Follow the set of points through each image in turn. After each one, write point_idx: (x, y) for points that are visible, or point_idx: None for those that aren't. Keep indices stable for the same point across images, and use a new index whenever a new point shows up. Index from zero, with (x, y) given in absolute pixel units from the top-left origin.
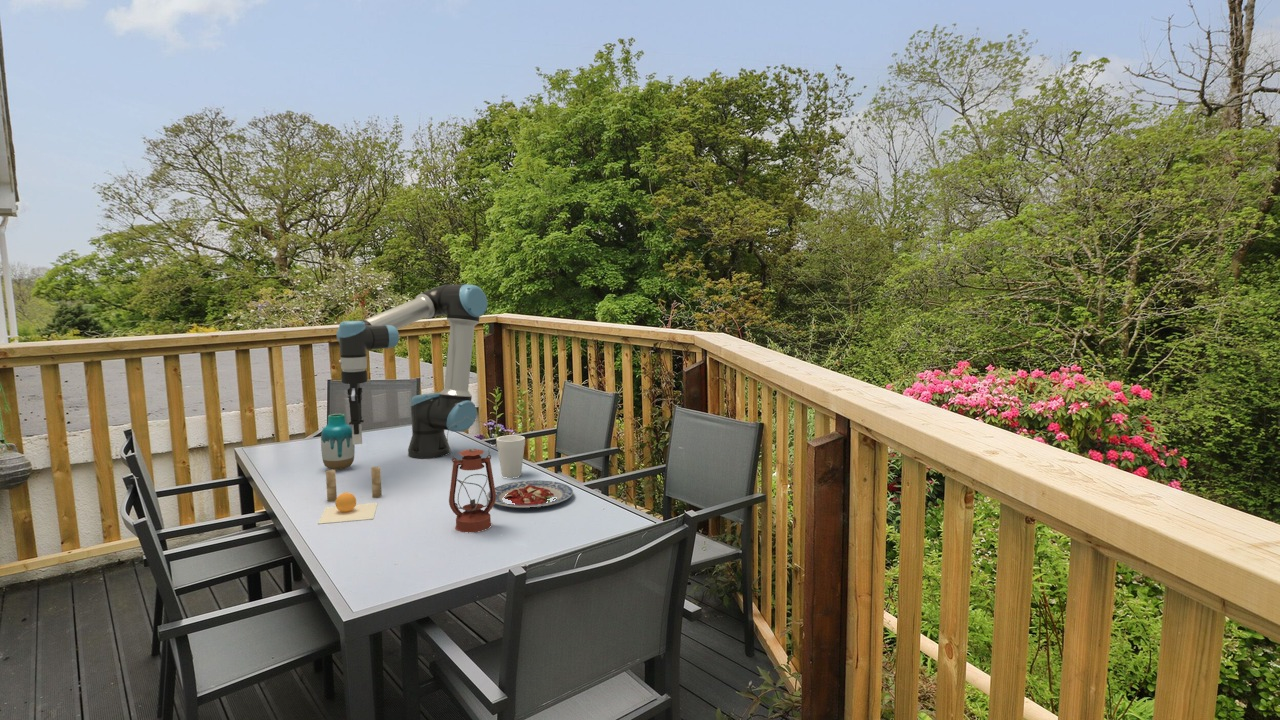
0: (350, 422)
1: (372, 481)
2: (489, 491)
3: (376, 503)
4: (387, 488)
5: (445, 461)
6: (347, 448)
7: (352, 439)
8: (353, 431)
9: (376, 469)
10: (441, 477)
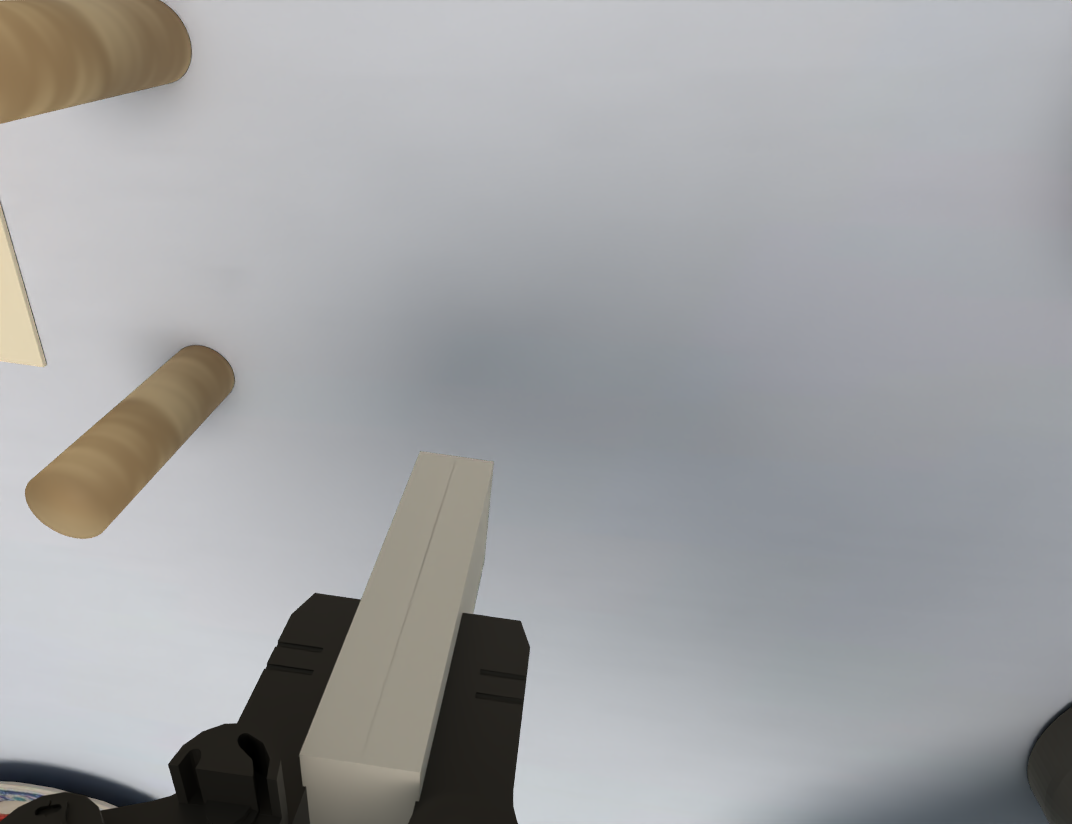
0: (244, 791)
1: (110, 411)
2: (100, 808)
3: (29, 360)
4: (388, 446)
5: (888, 776)
6: None
7: (402, 503)
8: (359, 629)
9: (35, 504)
10: (528, 706)
